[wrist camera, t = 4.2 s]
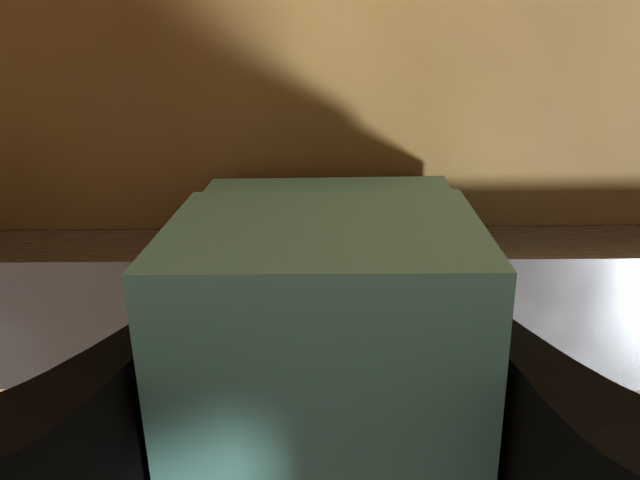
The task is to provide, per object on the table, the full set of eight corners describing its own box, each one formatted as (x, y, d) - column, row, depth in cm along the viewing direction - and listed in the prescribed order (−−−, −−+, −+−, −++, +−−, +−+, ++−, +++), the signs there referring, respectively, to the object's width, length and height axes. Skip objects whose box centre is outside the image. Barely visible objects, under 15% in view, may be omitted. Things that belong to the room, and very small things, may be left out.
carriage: (432, 404, 15) (483, 622, 10) (231, 404, 15) (169, 617, 10) (443, 167, 13) (517, 272, 8) (212, 169, 13) (121, 275, 8)
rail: (883, 342, 15) (963, 390, 13) (-20, 343, 15) (-70, 388, 14) (922, 223, 14) (1016, 256, 12) (-46, 231, 14) (-105, 263, 13)
